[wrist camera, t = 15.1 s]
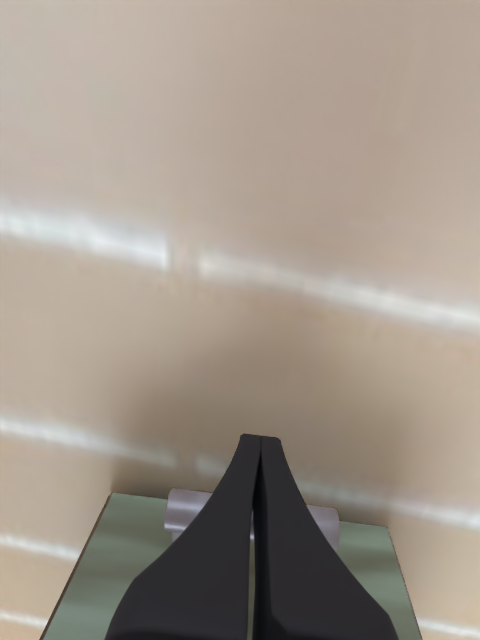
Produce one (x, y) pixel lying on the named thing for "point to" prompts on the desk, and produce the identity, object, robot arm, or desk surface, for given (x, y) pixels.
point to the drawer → (168, 524)
